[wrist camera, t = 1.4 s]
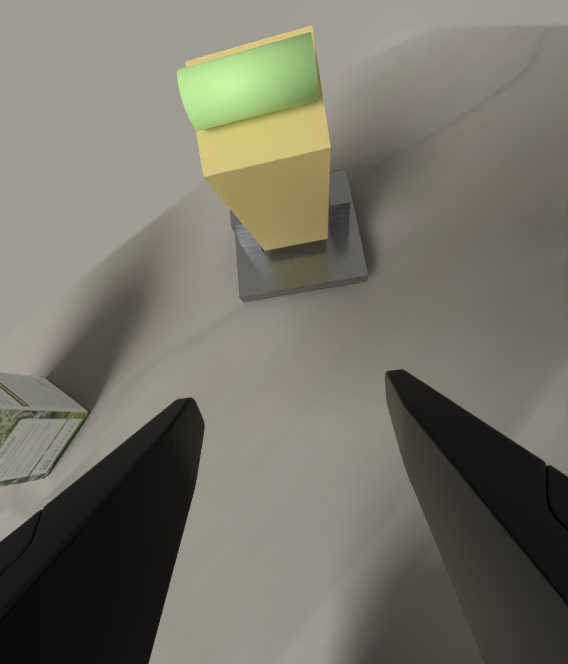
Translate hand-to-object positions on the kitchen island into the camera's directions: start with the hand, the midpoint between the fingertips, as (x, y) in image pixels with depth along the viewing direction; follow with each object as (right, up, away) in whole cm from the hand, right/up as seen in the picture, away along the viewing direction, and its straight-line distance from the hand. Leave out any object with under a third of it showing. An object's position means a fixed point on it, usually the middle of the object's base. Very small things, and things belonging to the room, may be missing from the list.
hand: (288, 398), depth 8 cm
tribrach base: (+1, +9, +17) cm, 19 cm away
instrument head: (0, +10, +13) cm, 16 cm away
